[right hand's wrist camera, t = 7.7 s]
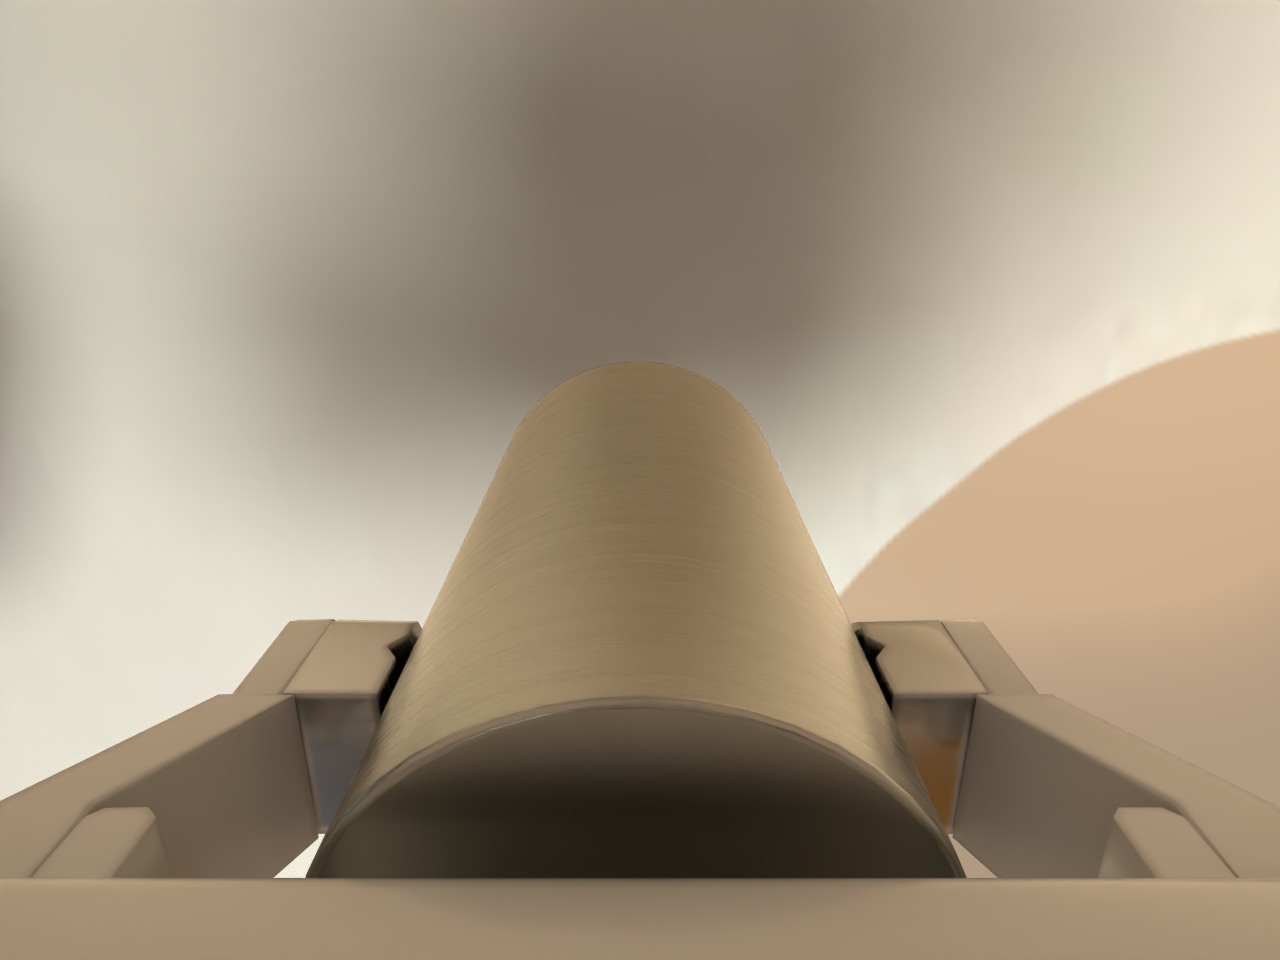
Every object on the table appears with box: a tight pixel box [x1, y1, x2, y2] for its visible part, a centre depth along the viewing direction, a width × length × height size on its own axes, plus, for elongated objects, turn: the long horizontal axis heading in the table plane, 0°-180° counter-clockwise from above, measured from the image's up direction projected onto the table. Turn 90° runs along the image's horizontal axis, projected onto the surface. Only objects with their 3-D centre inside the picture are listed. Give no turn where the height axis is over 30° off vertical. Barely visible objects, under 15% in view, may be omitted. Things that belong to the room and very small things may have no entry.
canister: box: [306, 362, 966, 878], centre depth 11 cm, size 5×5×10 cm
